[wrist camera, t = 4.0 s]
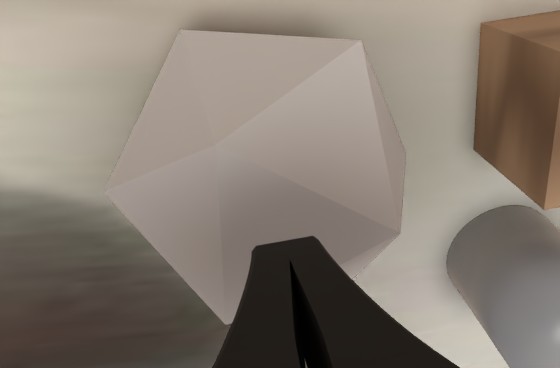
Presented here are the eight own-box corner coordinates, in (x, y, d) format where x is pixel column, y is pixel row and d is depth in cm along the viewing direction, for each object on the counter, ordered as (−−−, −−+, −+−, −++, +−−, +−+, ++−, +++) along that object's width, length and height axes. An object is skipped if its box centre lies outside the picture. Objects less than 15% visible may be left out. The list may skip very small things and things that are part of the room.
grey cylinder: (545, 285, 24) (638, 385, 19) (445, 304, 24) (510, 411, 19) (558, 196, 22) (668, 282, 17) (447, 216, 22) (523, 309, 16)
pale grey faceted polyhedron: (134, -9, 17) (-9, 254, 12) (388, -85, 13) (323, 262, 8) (247, 139, 23) (181, 352, 18) (443, 118, 19) (426, 385, 14)
